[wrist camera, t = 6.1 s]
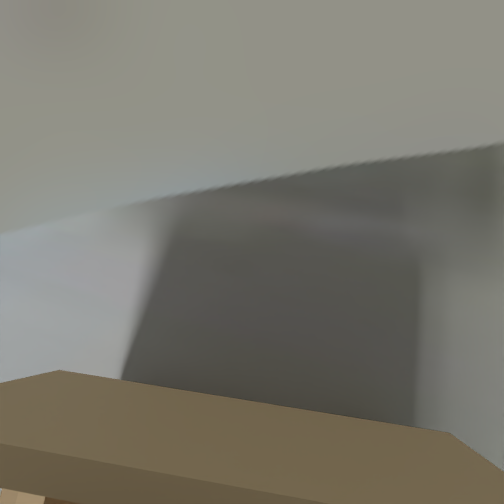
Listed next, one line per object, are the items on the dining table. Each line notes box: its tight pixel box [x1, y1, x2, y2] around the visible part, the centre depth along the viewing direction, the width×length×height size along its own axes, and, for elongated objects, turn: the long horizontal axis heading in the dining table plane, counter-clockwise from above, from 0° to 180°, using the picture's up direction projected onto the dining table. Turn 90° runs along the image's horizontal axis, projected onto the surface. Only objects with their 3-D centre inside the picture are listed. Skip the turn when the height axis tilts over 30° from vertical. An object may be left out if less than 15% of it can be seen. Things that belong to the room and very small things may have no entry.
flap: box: [0, 370, 504, 504], centre depth 9 cm, size 6×11×1 cm
